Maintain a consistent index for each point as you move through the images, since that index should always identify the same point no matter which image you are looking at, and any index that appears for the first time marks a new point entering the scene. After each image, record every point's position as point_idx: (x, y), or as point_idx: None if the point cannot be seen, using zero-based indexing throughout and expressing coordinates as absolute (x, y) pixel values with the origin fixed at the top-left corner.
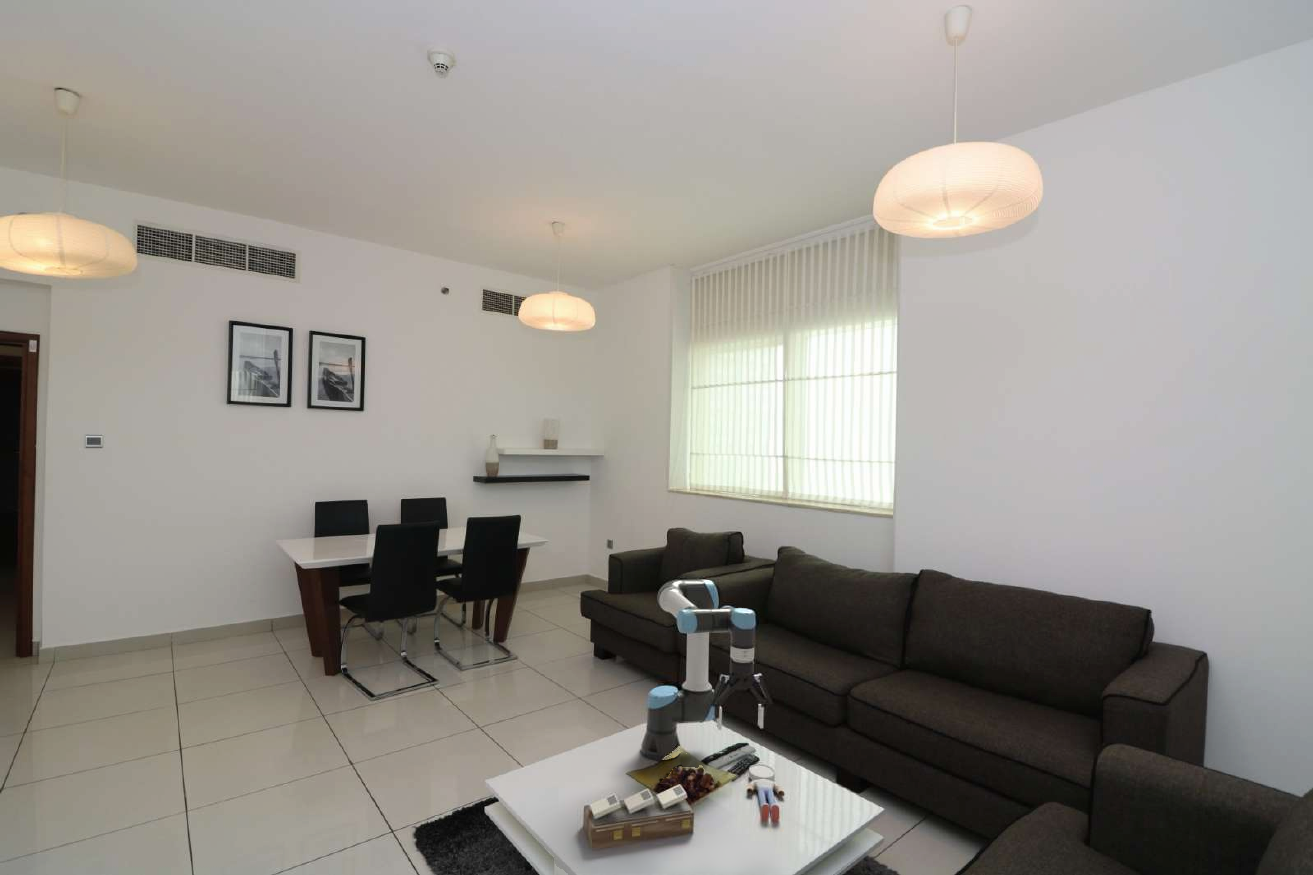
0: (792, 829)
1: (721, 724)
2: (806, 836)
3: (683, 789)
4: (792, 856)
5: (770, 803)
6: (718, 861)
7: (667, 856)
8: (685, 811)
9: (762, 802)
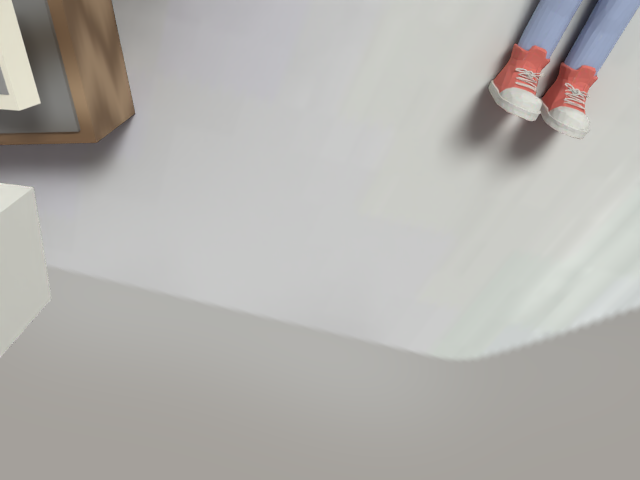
0: (584, 189)
1: (7, 348)
2: (608, 245)
3: (4, 64)
4: (468, 327)
5: (599, 19)
6: (194, 286)
7: None
8: (51, 132)
9: (557, 4)
